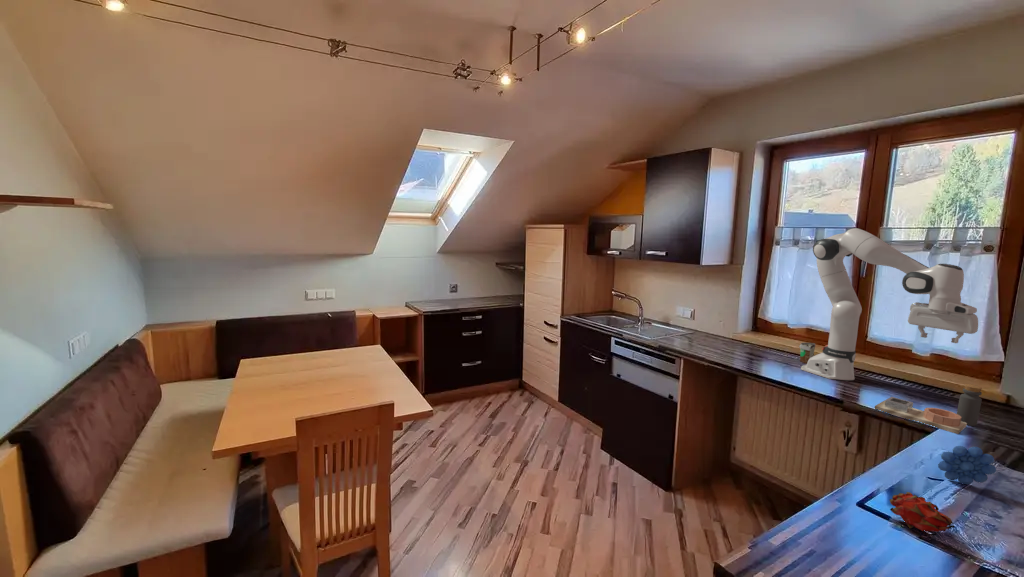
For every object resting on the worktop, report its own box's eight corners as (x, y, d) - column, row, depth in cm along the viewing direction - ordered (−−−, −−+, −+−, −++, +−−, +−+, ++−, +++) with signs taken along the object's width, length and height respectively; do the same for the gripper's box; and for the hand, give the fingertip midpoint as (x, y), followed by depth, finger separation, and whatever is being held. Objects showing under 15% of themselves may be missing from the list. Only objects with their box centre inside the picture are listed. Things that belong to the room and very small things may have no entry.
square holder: (884, 406, 182) (885, 399, 181) (890, 403, 186) (891, 396, 185) (906, 413, 176) (907, 406, 176) (912, 409, 180) (913, 402, 180)
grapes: (987, 484, 129) (995, 446, 128) (993, 495, 124) (1002, 455, 122) (933, 470, 136) (940, 433, 134) (937, 480, 131) (944, 442, 129)
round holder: (920, 418, 172) (921, 410, 171) (927, 412, 177) (929, 405, 177) (955, 428, 163) (957, 420, 163) (962, 422, 169) (964, 415, 169)
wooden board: (874, 409, 183) (874, 405, 182) (884, 403, 189) (885, 400, 189) (958, 434, 162) (958, 430, 162) (966, 426, 169) (967, 423, 169)
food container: (800, 358, 253) (802, 341, 252) (813, 360, 249) (815, 343, 248) (794, 362, 245) (797, 344, 243) (807, 365, 241) (810, 347, 239)
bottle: (980, 427, 169) (988, 389, 167) (962, 425, 170) (970, 387, 168) (968, 420, 175) (976, 384, 173) (951, 418, 176) (958, 382, 174)
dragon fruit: (882, 517, 115) (943, 549, 107) (882, 511, 110) (947, 545, 101) (895, 487, 117) (957, 517, 108) (896, 480, 111) (962, 511, 102)
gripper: (907, 301, 182) (902, 334, 184) (975, 310, 164) (969, 346, 165) (914, 301, 185) (910, 333, 186) (982, 309, 166) (977, 345, 168)
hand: (938, 340), depth 176 cm, fingers open, 8 cm apart
